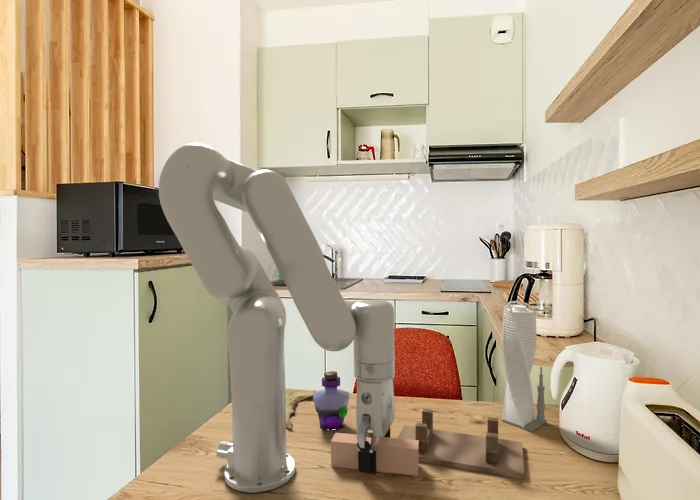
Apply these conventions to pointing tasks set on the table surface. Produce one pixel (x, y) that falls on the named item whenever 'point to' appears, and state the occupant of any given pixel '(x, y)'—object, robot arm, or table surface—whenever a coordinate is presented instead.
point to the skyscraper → (520, 367)
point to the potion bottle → (331, 402)
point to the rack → (467, 448)
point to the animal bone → (294, 404)
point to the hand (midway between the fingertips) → (375, 458)
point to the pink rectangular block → (377, 453)
